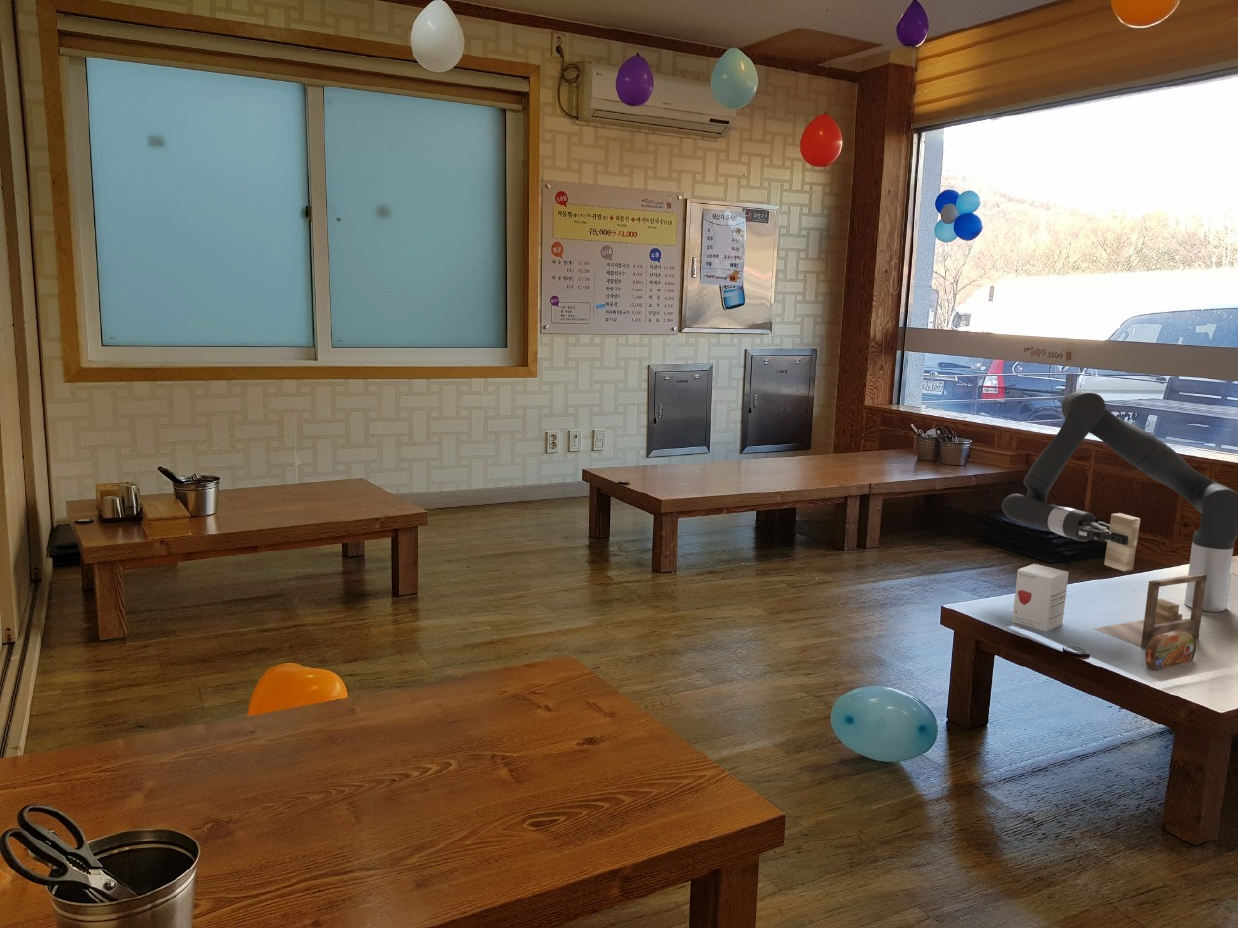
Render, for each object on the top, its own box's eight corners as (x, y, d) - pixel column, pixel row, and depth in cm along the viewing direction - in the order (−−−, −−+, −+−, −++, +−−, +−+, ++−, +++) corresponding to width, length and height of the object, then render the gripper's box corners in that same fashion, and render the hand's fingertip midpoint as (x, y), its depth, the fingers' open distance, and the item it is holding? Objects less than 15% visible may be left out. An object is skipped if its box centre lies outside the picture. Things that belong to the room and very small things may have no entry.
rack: (1144, 624, 229) (1152, 558, 226) (1197, 643, 216) (1207, 574, 213) (1093, 633, 222) (1100, 565, 219) (1144, 653, 210) (1153, 582, 207)
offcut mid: (1157, 616, 224) (1159, 607, 224) (1181, 623, 219) (1182, 614, 219) (1148, 619, 222) (1149, 610, 222) (1172, 626, 217) (1173, 617, 217)
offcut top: (1160, 607, 224) (1161, 598, 223) (1178, 614, 219) (1179, 605, 218) (1149, 609, 223) (1150, 599, 222) (1167, 615, 218) (1168, 606, 217)
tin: (1154, 677, 196) (1158, 640, 195) (1140, 672, 199) (1144, 635, 198) (1195, 665, 203) (1200, 630, 202) (1181, 660, 206) (1185, 625, 205)
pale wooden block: (1112, 563, 225) (1120, 512, 222) (1132, 570, 220) (1140, 518, 217) (1104, 564, 223) (1111, 513, 221) (1124, 571, 219) (1131, 519, 216)
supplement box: (1010, 626, 227) (1015, 568, 224) (1027, 618, 232) (1033, 562, 229) (1046, 636, 220) (1052, 577, 217) (1063, 628, 225) (1069, 571, 223)
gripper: (1053, 511, 230) (1113, 527, 214) (1092, 507, 235) (1154, 522, 220) (1050, 539, 231) (1110, 557, 216) (1089, 535, 237) (1150, 552, 221)
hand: (1132, 540), depth 218 cm, fingers closed on pale wooden block, 3 cm apart
